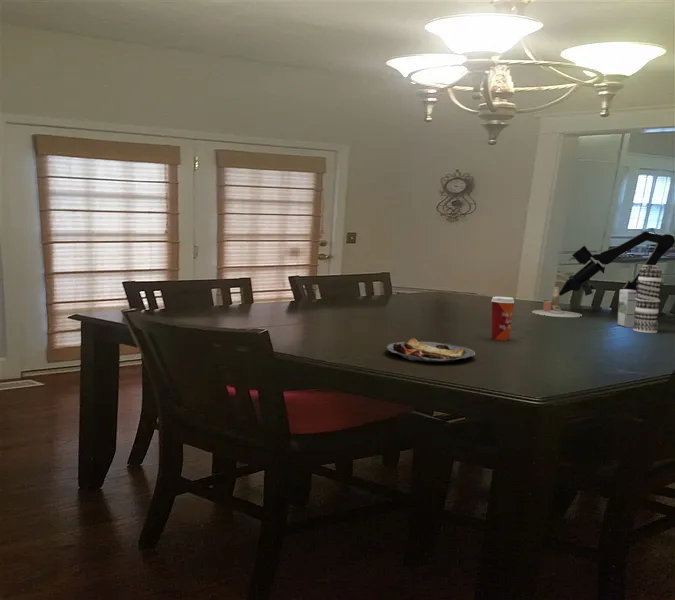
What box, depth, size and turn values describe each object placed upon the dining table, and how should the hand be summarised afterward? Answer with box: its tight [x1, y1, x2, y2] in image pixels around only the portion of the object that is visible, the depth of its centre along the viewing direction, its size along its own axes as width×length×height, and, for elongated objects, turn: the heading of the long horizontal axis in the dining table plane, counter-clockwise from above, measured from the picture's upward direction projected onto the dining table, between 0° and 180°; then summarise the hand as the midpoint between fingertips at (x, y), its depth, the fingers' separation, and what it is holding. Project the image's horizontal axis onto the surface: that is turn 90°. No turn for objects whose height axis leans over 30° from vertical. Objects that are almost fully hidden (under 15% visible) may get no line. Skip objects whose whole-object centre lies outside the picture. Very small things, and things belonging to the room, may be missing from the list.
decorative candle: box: [632, 264, 664, 334], centre depth 248 cm, size 9×9×25 cm
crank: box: [551, 286, 562, 311], centre depth 294 cm, size 12×3×9 cm, turn 166°
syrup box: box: [616, 288, 638, 328], centre depth 259 cm, size 6×6×14 cm
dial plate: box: [531, 309, 583, 318], centre depth 290 cm, size 21×21×1 cm
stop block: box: [542, 300, 552, 311], centre depth 296 cm, size 3×2×4 cm
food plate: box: [385, 337, 476, 363], centre depth 188 cm, size 25×23×4 cm
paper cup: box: [490, 296, 515, 342], centre depth 219 cm, size 8×8×14 cm
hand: (559, 294), depth 299 cm, fingers closed
